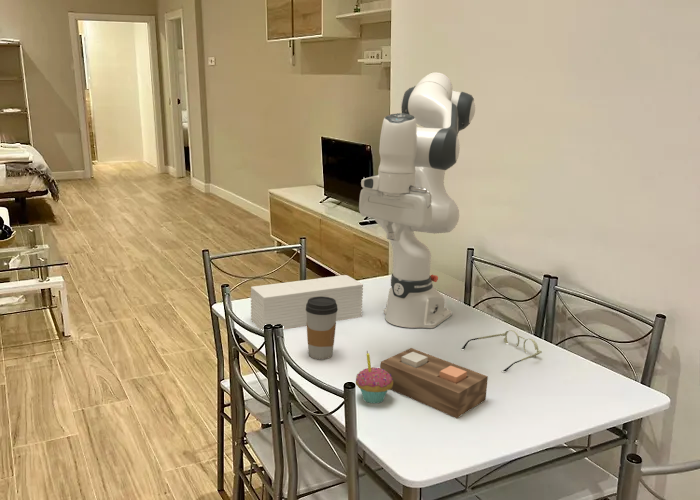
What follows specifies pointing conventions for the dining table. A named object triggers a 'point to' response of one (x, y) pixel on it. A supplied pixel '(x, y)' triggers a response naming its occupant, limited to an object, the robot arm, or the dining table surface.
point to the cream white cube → (414, 359)
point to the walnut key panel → (436, 384)
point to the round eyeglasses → (507, 342)
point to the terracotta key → (453, 374)
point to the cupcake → (374, 383)
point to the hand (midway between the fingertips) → (393, 239)
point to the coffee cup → (321, 326)
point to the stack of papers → (304, 300)
